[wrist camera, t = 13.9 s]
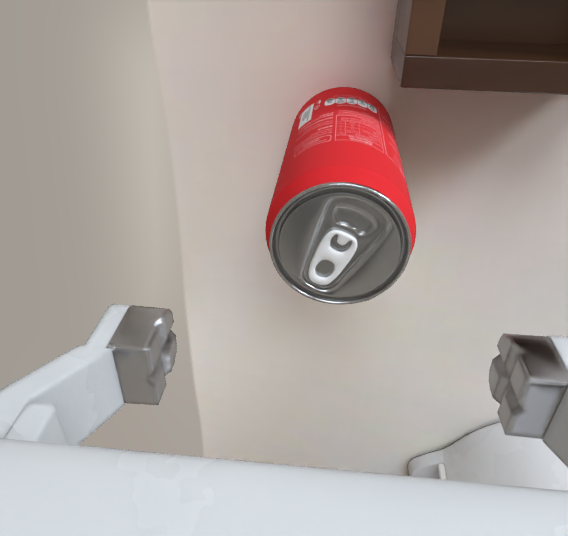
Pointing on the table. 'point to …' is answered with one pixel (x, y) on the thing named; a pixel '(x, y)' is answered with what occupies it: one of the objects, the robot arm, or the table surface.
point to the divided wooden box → (482, 45)
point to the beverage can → (341, 201)
